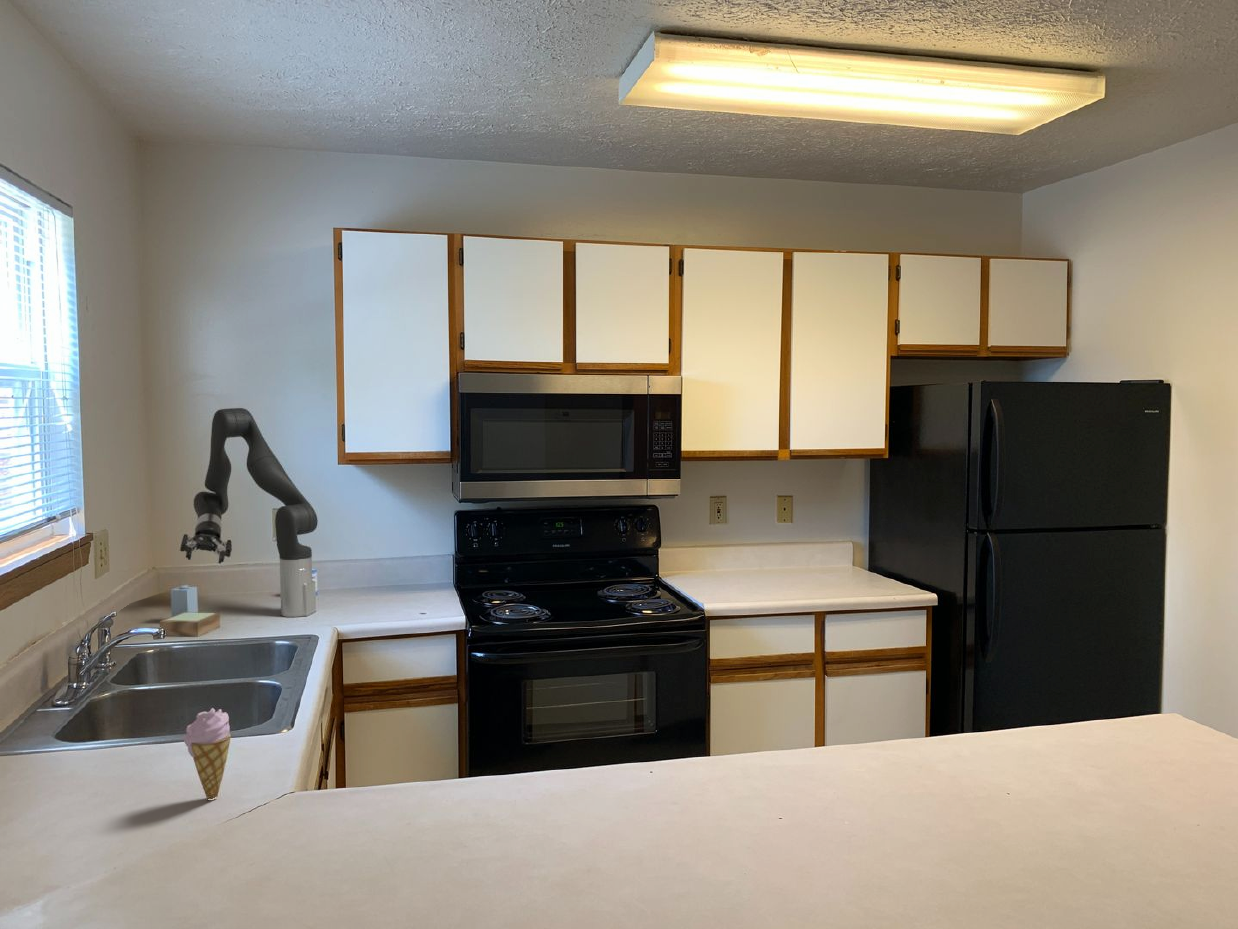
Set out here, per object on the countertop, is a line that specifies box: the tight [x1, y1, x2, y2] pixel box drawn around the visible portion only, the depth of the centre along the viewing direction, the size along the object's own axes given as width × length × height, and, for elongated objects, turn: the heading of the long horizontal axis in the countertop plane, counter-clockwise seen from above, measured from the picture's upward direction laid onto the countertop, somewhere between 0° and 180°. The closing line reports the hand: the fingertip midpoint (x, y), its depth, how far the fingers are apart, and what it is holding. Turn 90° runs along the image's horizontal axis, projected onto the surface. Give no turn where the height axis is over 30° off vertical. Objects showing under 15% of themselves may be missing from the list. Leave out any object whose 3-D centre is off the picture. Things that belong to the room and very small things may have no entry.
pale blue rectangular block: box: [170, 584, 199, 617], centre depth 259 cm, size 5×5×11 cm
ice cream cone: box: [183, 707, 232, 799], centre depth 141 cm, size 7×6×15 cm
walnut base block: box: [159, 612, 221, 638], centre depth 248 cm, size 11×11×4 cm
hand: (205, 559), depth 268 cm, fingers open, 8 cm apart
